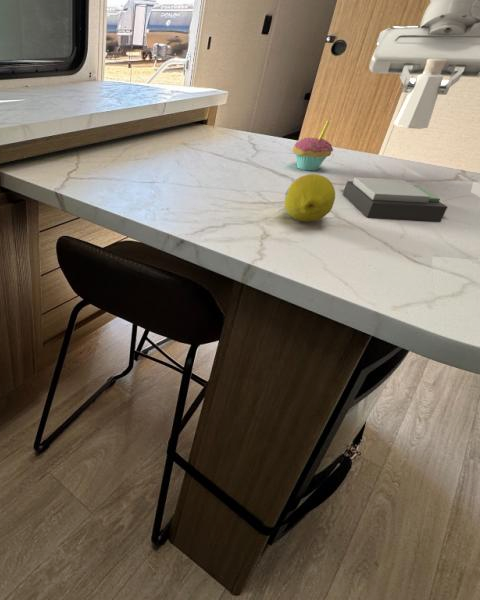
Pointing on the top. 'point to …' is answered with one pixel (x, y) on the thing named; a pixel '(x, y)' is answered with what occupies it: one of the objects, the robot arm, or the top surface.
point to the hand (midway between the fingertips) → (424, 91)
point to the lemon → (309, 198)
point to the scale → (393, 199)
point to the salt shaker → (422, 97)
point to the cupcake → (312, 151)
